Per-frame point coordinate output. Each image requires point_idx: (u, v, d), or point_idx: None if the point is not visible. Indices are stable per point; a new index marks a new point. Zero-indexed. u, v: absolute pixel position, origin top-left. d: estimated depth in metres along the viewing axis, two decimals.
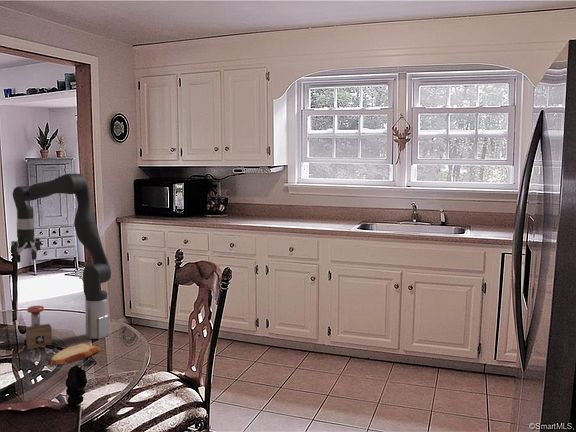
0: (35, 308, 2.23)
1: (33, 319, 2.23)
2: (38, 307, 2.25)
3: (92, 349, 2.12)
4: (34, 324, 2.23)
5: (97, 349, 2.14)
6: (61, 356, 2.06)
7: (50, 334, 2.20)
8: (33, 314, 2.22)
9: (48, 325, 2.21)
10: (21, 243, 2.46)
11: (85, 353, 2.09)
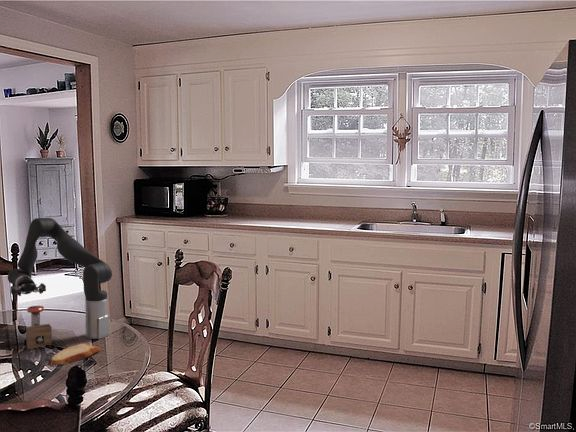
0: (35, 308, 2.23)
1: (33, 319, 2.23)
2: (38, 307, 2.25)
3: (92, 349, 2.12)
4: (34, 324, 2.23)
5: (97, 349, 2.14)
6: (61, 356, 2.06)
7: (50, 334, 2.20)
8: (33, 314, 2.22)
9: (48, 325, 2.21)
10: (19, 286, 2.38)
11: (85, 353, 2.09)
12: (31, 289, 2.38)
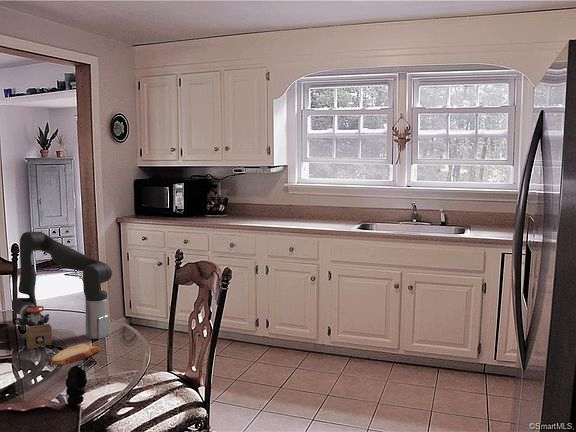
0: (35, 308, 2.23)
1: (33, 319, 2.23)
2: (38, 307, 2.25)
3: (92, 349, 2.12)
4: (34, 324, 2.23)
5: (97, 349, 2.14)
6: (61, 356, 2.05)
7: (50, 334, 2.20)
8: (33, 314, 2.22)
9: (48, 325, 2.21)
10: (25, 317, 2.28)
11: (85, 353, 2.09)
12: None
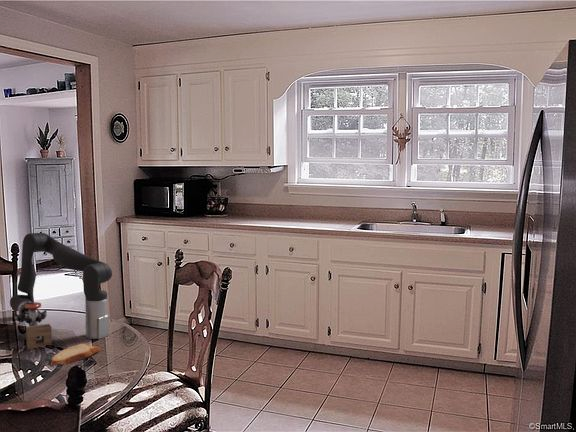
0: (33, 305, 2.28)
1: (31, 315, 2.28)
2: (35, 303, 2.30)
3: (92, 349, 2.12)
4: (32, 320, 2.28)
5: (97, 349, 2.14)
6: (61, 356, 2.05)
7: (50, 334, 2.20)
8: (31, 310, 2.27)
9: (48, 325, 2.21)
10: (23, 314, 2.33)
11: (85, 353, 2.09)
12: None
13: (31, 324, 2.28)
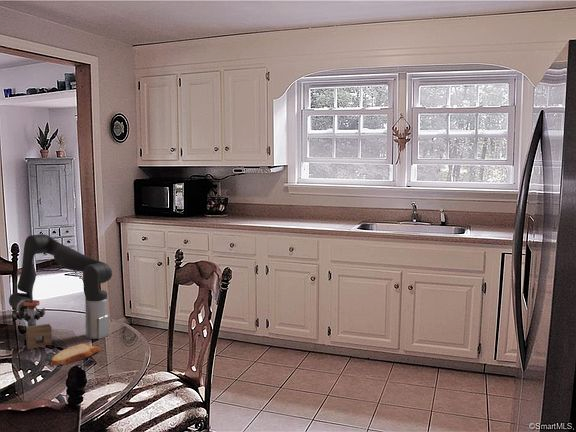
0: (31, 302, 2.31)
1: (29, 313, 2.31)
2: (34, 301, 2.33)
3: (92, 349, 2.12)
4: (30, 318, 2.31)
5: (97, 349, 2.14)
6: (61, 356, 2.05)
7: (50, 334, 2.20)
8: (29, 308, 2.31)
9: (48, 325, 2.21)
10: (21, 311, 2.36)
11: (86, 353, 2.09)
12: None
13: (30, 322, 2.31)
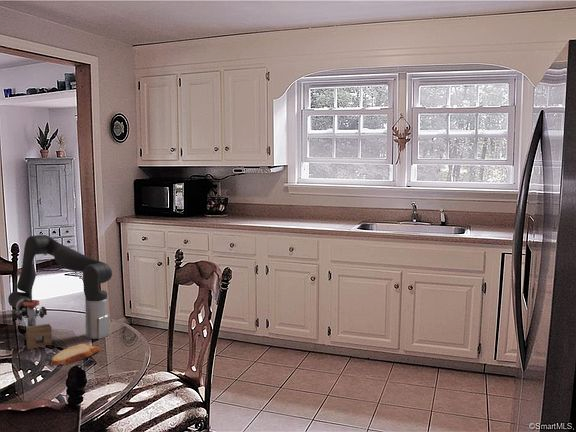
0: (31, 302, 2.31)
1: (29, 313, 2.31)
2: (34, 301, 2.33)
3: (92, 349, 2.12)
4: (30, 317, 2.31)
5: (97, 349, 2.14)
6: (61, 356, 2.05)
7: (50, 334, 2.20)
8: (29, 308, 2.31)
9: (48, 325, 2.21)
10: (20, 310, 2.38)
11: (86, 353, 2.09)
12: None
13: (29, 321, 2.31)
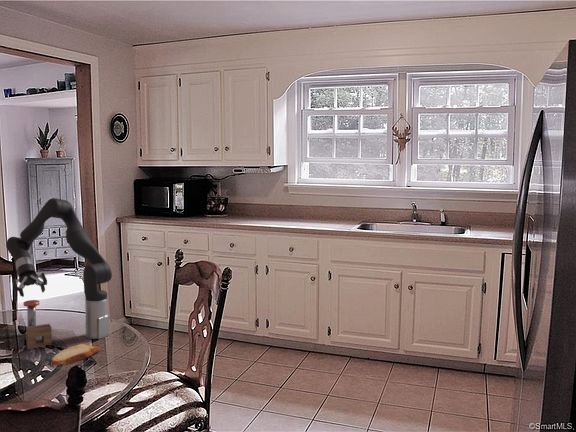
0: (31, 302, 2.31)
1: (29, 313, 2.31)
2: (34, 301, 2.33)
3: (92, 349, 2.12)
4: (30, 317, 2.31)
5: (97, 349, 2.14)
6: (62, 357, 2.05)
7: (50, 334, 2.20)
8: (29, 308, 2.31)
9: (48, 325, 2.21)
10: (21, 279, 2.42)
11: (86, 353, 2.09)
12: (33, 283, 2.44)
13: (29, 321, 2.31)
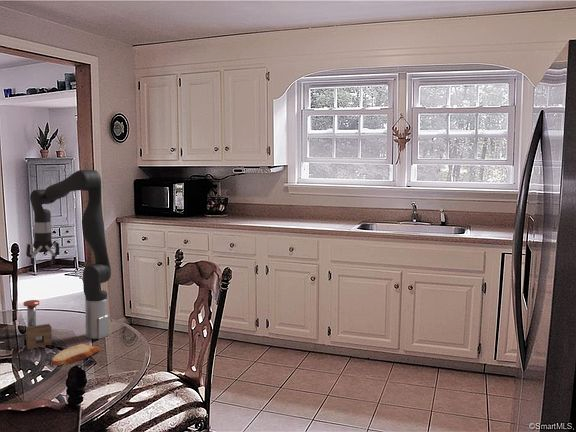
0: (31, 302, 2.31)
1: (29, 313, 2.31)
2: (34, 301, 2.33)
3: (92, 349, 2.12)
4: (30, 317, 2.31)
5: (97, 349, 2.14)
6: (62, 357, 2.05)
7: (50, 334, 2.20)
8: (29, 308, 2.31)
9: (48, 325, 2.21)
10: (35, 246, 2.45)
11: (86, 353, 2.09)
12: None
13: (29, 321, 2.31)
